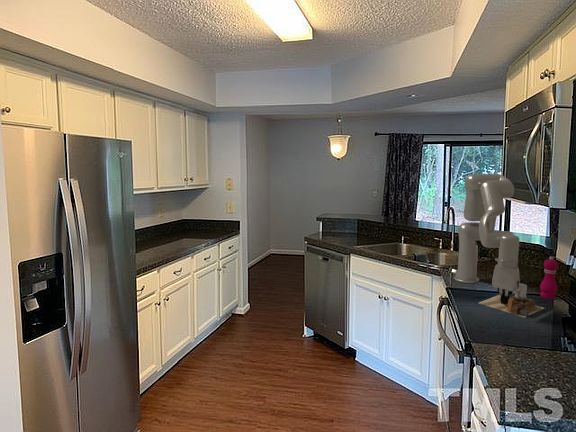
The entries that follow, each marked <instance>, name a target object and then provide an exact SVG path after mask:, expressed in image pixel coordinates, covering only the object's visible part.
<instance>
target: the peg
mask: <svg viewBox="0 0 576 432" xmlns="http://www.w3.org/2000/svg"><path fill="white" fill-rule="evenodd" d="M527 290H528V285H527V284H525V283H521V282H520V284H519V289H518V293H517V294H514V296H515V301H516V302H520V303H523V304H524V303H526V298H527Z"/></svg>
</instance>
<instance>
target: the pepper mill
mask: <svg viewBox="0 0 576 432" xmlns="http://www.w3.org/2000/svg"><path fill="white" fill-rule="evenodd" d="M543 267H544V271H543V272H544V278H543V280H542V281H541V283H540V285H539V289H540V297H541V298H544V299H547V300H548V299H549V300H550V299H552V300H553V299H555V298H556V295H557V294H556V292H557V291H558V284H557V281H556V279H555V277H556V273H557V269H558V268H559V262H557V260H555V259H554V256H549V257H548V259H545V260H544V262H543Z"/></svg>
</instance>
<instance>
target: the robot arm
mask: <svg viewBox="0 0 576 432" xmlns="http://www.w3.org/2000/svg"><path fill="white" fill-rule="evenodd" d="M464 190H465V200H464V201H465V202H464V209H463V217H464V220H466V221H469V222H463V223H461V224H460V225H459V226H458V227H457V228H458V231H457V233H458V260H457V261H458V262H457V268H456V269H455V268H452V269H451V273H452V274H455V276H453V279H454V280H455V281H457V282H459V283H462V284H463V283H464V284H477V283H479V282H480V278H479V277H477V273H478V257H479V248H478V246H477V244H476V243H475V241H480V243H481V244H482V246H483V247H485V248H488V249H495V248H496V249H497V248H498V257H496V258H495V262H497V264H495V266H494V270H493V274H492V281H491V284H492V285H491V286H492V287H493V289H494V290H495V289H496V290H497V291H498V293H499V295H501V298H500V301H501V304H504V305H505V304H508V299H509V298H510V296H511V295H513V294H514V295H515V294H517V293H518V289H519V284H520V283H521V282H520V269H519V267H518V264H519V263H518V261H519V250H520V238H519V235H516V234H514V233H513V232H511V231H509V230H495V229H496V228H495V227H496V222H497V217H499V216H501V215H503V214H504V213H505V212H506V206H505V203H504V199H511V198H512V197H513V196H514V193H515V186H514V184H513V183H512V181H511V180H510V179H509V178H507V177H506V176H504V175H503V174H498V173H494V174H493V173H476V174H475V173H474V174H469V175H467V176H466V177H465V179H464Z"/></svg>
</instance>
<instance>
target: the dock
mask: <svg viewBox="0 0 576 432" xmlns="http://www.w3.org/2000/svg"><path fill="white" fill-rule="evenodd" d="M500 298H501V295H500V294H497V295H495V296H492V297H490V298H487V299H485V300H482V301H479V302H478V304H480V305H483V306H486V307H490V308H492V309H496V310H498V311H499V310H500V311H502V312H505V313H509V314H512V315H515V316H517V317H518V316H519V317H521V318H526V317H529V316H531V315H533V314H536V313H537V312H540V311H542V310H544V309H545V307H543V306H539V305H536V300H533V299H530V298H527V297H526V303H524V304H523V303H520V302H516V301H515V304H514V305H513V306H512V311H508V304H505V305H504V304H501V301H500ZM511 298H512V299H515V295H513V296H509V299H511ZM518 308H521V309H524V310H528V311H529V315H528V316H525V315H522V314H519V313H518Z"/></svg>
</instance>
